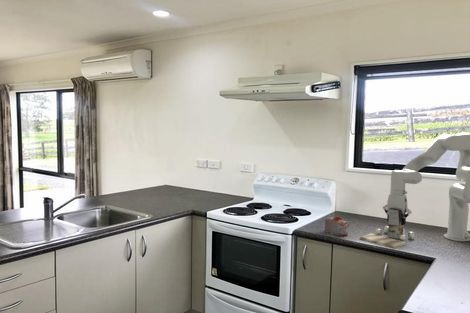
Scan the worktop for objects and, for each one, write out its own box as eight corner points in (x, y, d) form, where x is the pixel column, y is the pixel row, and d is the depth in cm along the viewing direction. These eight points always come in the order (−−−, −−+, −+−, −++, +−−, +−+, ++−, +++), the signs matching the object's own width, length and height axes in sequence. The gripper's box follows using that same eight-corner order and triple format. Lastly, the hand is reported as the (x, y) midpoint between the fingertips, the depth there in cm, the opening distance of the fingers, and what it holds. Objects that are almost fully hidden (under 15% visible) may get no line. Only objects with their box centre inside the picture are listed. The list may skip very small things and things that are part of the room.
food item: (350, 235, 221) (351, 218, 220) (342, 237, 216) (343, 220, 215) (330, 229, 232) (331, 213, 231) (322, 232, 227) (323, 215, 226)
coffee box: (399, 239, 213) (400, 210, 212) (387, 237, 217) (388, 208, 216) (403, 235, 221) (404, 207, 219) (391, 233, 225) (392, 206, 223)
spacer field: (417, 238, 219) (417, 231, 219) (403, 243, 209) (404, 236, 208) (389, 231, 232) (389, 224, 232) (374, 235, 222) (375, 228, 221)
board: (405, 244, 207) (405, 242, 207) (394, 248, 199) (394, 246, 199) (371, 235, 222) (371, 233, 222) (359, 238, 214) (360, 236, 214)
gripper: (416, 193, 213) (414, 225, 214) (386, 189, 226) (385, 219, 227) (409, 195, 208) (408, 227, 209) (379, 190, 221) (378, 221, 223)
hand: (396, 223), depth 218 cm, fingers closed on coffee box, 7 cm apart
